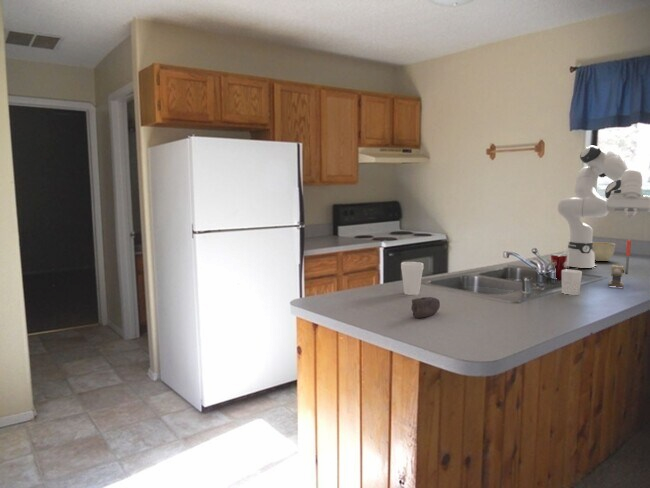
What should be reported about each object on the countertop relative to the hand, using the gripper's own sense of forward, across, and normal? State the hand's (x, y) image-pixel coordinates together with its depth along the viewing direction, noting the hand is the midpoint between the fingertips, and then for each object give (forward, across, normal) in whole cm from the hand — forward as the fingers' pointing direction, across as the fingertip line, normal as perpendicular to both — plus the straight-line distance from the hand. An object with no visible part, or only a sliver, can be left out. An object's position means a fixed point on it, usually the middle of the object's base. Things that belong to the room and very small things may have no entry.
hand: (630, 216), depth 235 cm
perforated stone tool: (+98, +63, +53) cm, 128 cm away
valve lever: (+27, 0, -9) cm, 29 cm away
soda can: (+28, +29, -17) cm, 43 cm away
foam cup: (+76, +80, +31) cm, 115 cm away
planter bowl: (-24, +12, -69) cm, 74 cm away
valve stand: (+32, +4, -13) cm, 34 cm away
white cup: (+52, +21, +8) cm, 57 cm away
